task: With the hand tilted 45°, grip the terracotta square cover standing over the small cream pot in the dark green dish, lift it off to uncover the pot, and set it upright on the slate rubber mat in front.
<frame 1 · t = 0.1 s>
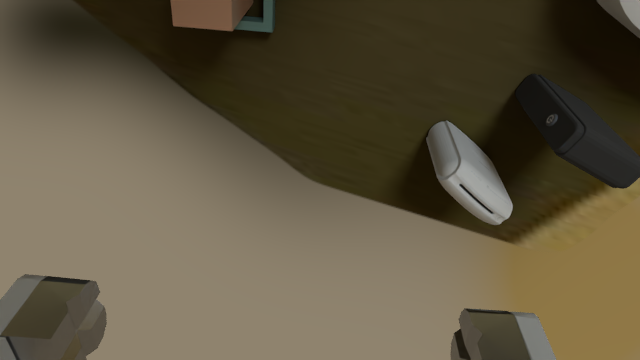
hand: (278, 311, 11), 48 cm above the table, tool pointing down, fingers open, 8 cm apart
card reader: (547, 98, 58), on the table
photo printer: (458, 147, 62), on the table
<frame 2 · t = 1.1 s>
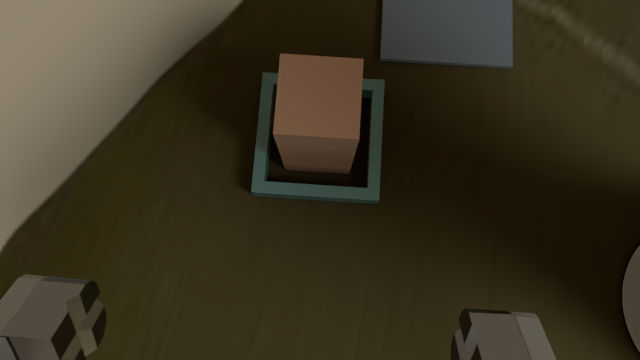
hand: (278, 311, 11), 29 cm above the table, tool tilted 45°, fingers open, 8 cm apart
terracotta cover: (319, 141, 42), resting in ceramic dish
rubber mat: (446, 5, 44), on the table
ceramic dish: (319, 141, 42), on the table
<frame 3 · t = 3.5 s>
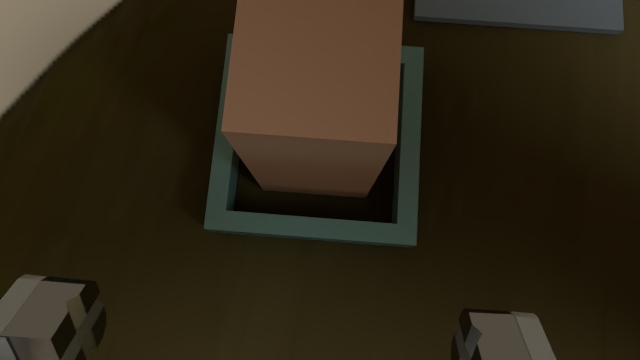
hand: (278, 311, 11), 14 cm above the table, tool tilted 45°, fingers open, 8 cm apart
terracotta cover: (318, 144, 26), resting in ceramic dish
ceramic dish: (318, 144, 26), on the table
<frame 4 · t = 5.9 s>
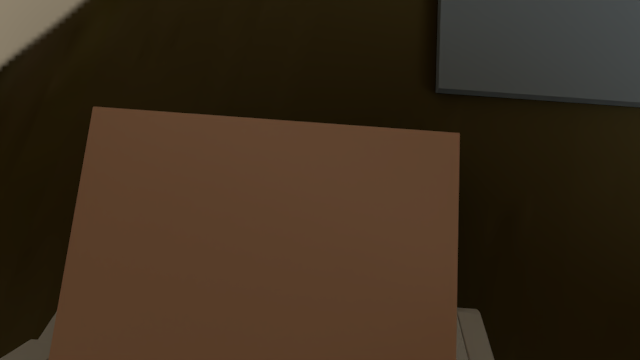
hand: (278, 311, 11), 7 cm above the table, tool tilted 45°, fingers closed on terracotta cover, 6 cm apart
terracotta cover: (295, 286, 17), resting in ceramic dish, touching gripper
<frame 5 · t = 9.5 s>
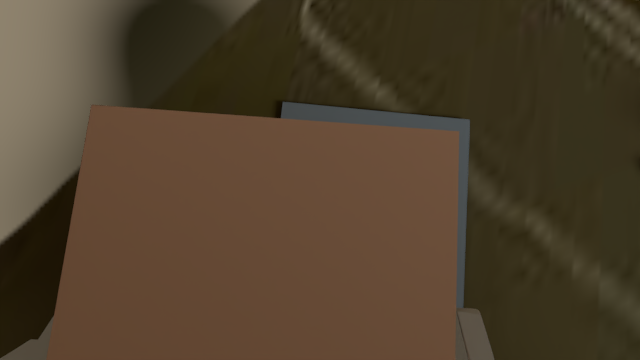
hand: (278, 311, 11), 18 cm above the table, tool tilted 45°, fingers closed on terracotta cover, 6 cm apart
terracotta cover: (294, 285, 17), point 11 cm above the table, touching gripper
rubber mat: (368, 204, 29), on the table
when the fingers open (8 cm above the table, at t = 12.9 s): terracotta cover drops 1 cm, resting on rubber mat.
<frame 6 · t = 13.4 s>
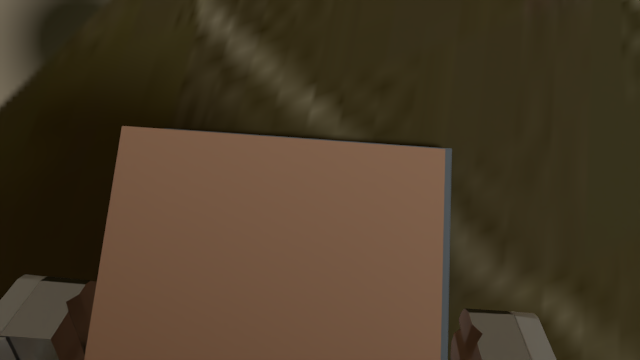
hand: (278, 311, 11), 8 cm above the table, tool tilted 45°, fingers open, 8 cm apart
terracotta cover: (297, 285, 18), resting on rubber mat
rubber mat: (296, 285, 19), on the table
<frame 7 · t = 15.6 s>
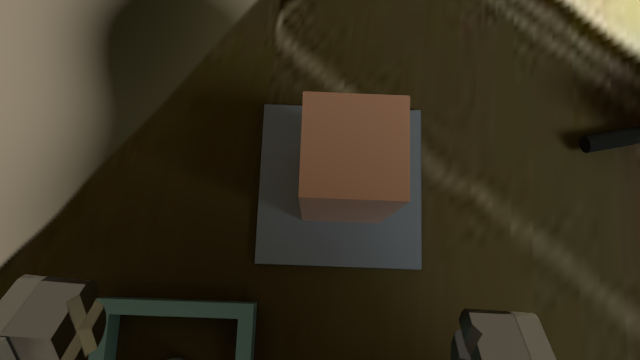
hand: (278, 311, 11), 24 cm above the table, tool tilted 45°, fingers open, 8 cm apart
terracotta cover: (341, 184, 35), resting on rubber mat
rubber mat: (340, 185, 35), on the table
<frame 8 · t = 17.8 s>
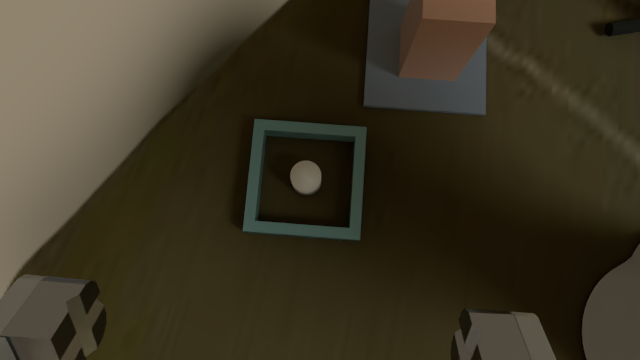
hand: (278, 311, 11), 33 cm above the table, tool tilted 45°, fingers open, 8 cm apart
terracotta cover: (427, 53, 47), resting on rubber mat
rubber mat: (425, 55, 48), on the table
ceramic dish: (306, 182, 45), on the table
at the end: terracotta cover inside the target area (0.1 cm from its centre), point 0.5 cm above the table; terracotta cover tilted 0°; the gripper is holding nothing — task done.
